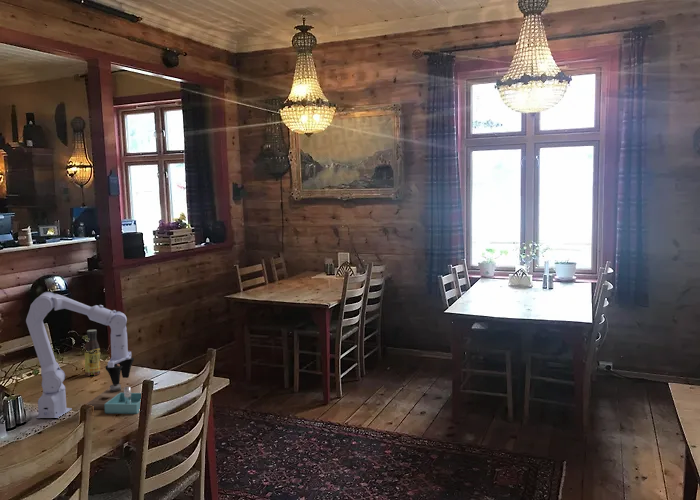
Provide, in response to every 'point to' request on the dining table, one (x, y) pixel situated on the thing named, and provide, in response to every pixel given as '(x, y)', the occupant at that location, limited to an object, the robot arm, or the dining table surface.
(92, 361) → the sauce bottle
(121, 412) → the tray
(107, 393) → the tensioner bracket
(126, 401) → the lock pin
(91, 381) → the dining table surface
